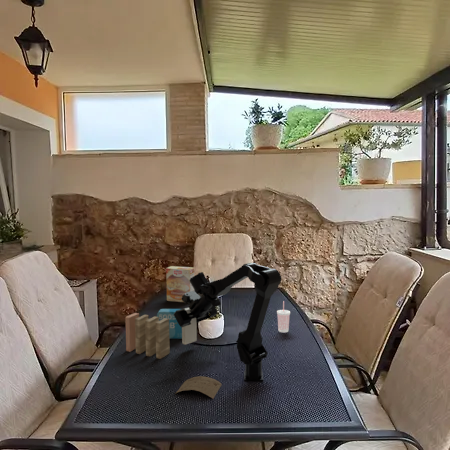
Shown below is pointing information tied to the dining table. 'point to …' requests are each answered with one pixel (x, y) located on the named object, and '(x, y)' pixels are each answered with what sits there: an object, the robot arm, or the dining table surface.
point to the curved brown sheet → (202, 385)
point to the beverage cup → (283, 320)
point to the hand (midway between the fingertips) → (187, 324)
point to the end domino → (130, 332)
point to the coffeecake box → (178, 282)
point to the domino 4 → (189, 331)
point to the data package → (171, 323)
